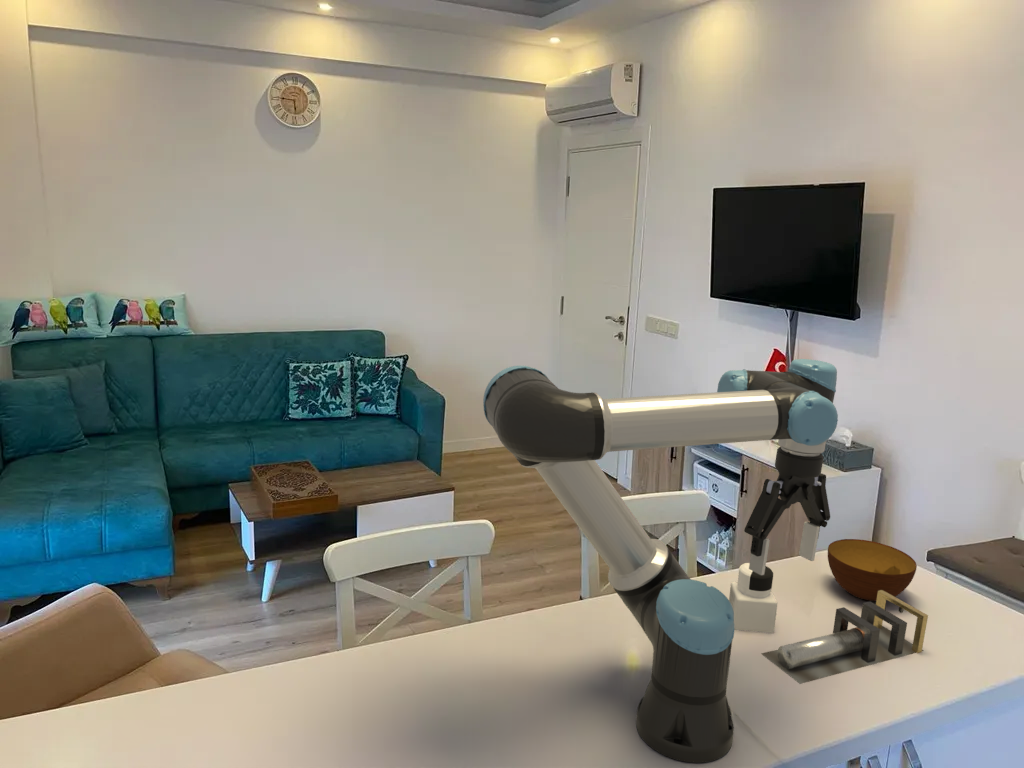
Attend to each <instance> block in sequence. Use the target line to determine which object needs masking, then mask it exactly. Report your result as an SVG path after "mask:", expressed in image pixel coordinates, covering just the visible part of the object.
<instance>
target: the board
mask: <svg viewBox="0 0 1024 768" xmlns="http://www.w3.org/2000/svg"><path fill="white" fill-rule="evenodd" d="M879 629H880V634H879V640H878V647H877V653H876V659H875V661H873V662H869V663H867V662H865V661H864V660H862V659H861V654H862V651H856V652H852V653H849V654H845V655H841V656H837V657H833V658H830V659H826V660H822V661H818V662H814V663H810V664H807V665H803V666H799V667H795V668H791V669H786V668H784V667H783V666H782V665H781V663H780V661H779V659H778V649H774V650H771V651H766V652H761V653H760V654H761V655H762V656H763V657H765V658H766V659H767V660H769V662H771V663H772V664H774V665H775V666H776V667H778V668H779V669H780V670H781V671H782V672H784V673H785V674H787V676H789V677H790V678H791V679H793V680H794V681H796V682H797V683H798V684H799V685H803V684H805V683H810V682H813V681H816V680H820V679H821V680H822V679H824V678H828V677H832V676H835V675H838V674H842V673H847V672H850V671H853V670H858V669H861V668H865V667H869V666H873V665H876V664H879V663H883V662H887V661H892V660H895V659H899V658H903V657H906V656H909V655H913V654H917V653H916V652H914V651H912V646H913V642H910V641H909V640H907V639H906V638H905V639H904V645H903V651H902V654H899V655H895V656H894V655H893V654H891V653H890V652H888V647H889V641H890V635H891V629H889V628H887V627H885V626H884V625H882V628H879ZM922 652H924V650H923V649H922Z"/></svg>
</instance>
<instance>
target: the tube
mask: <svg viewBox="0 0 1024 768" xmlns="http://www.w3.org/2000/svg"><path fill="white" fill-rule="evenodd" d="M864 635H865V632H864V631H863V630H861V629H859V628H858V627H856V626H855V627H852V628H850V629H847V630H846V631H842V632H837V633H833V632H832V633H830V634H825V635H821V636H818V637H814V638H809V639H805V640H801V641H797V642H793V643H788V644H786V645H780V647H778V649H777V650H778V659H779V661H780V663H781V665H782V666H783V667H784V668H786V669H791V668H795V667H799V666H803V665H807V664H810V663H814V662H818V661H822V660H826V659H830V658H833V657H837V656H841V655H845V654H849V653H852V652H856V651H862V648H863V641H864Z"/></svg>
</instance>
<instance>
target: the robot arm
mask: <svg viewBox="0 0 1024 768" xmlns="http://www.w3.org/2000/svg"><path fill="white" fill-rule="evenodd" d="M789 365H790V366H789V367H788V369H787V370H788V371H767V370H766V371H765V370H763V371H762V370H749V369H748V370H747V369H745V368H744V369H739V370H736V369H735V370H734V369H733V370H728V371H725V372H724V373H723V374H722V375H721V377H720V379H719V380H718V384H717V391H716V392H704V393H703V392H700V393H684V394H667V395H651V396H649V395H647V396H646V395H645V396H631V397H629V396H628V397H616V398H615V397H614V398H603V397H602V396H601V395H599V394H598V393H597V392H592V391H591V392H573V391H572V392H571V391H567V390H563V389H560V388H558V386H556V384H554V383H553V382H552V380H550V378H549V377H548V376H547V375H546V374H545V373H543V372H542V371H541V370H539V369H537V368H536V367H534V368H533V367H531V366H529V365H528V366H527V365H513V366H509V367H506V368H504V369H502V370H501V371H499V372H498V373H496V374H495V375H494V376H493V377H492V378H491V379H490V381H489V382H488V384H487V386H486V388H485V390H484V394H483V412H484V416H485V419H486V420H487V422H488V423H489V425H490V426H492V428H493V430H494V431H495V433H496V435H497V437H498V439H499V441H500V442H501V444H502V446H503V447H504V448H505V449H506V450H507V451H508V452H509V453H511V454H512V455H513V456H514V457H515V458H516V460H517V462H518V463H519V464H520V466H522V467H523V468H527V469H528V468H529V469H535V470H536V471H537V472H538V474H539V476H541V479H543V480H544V482H545V483H546V485H547V486H548V488H549V489H550V490H551V491H552V493H553V494H554V496H555V497H556V498H557V500H558V501H559V502H560V504H561V505H562V506H563V508H564V509H565V510H566V512H567V513H568V514H569V516H570V517H571V519H573V521H574V523H575V524H576V525H577V527H579V529H580V530H581V532H582V533H583V535H584V537H586V538H587V540H588V542H589V543H590V544H591V545H592V546H593V548H594V549H595V551H596V552H597V553H598V555H599V556H600V557H601V559H602V560H603V562H604V563H605V564H606V565H607V567H608V568H609V570H608V574H607V579H608V583H609V584H610V586H611V587H612V589H613V590H614V591H615V592H616V594H617V595H618V596H619V598H620V600H622V602H623V604H624V605H625V606H626V608H627V609H628V610H629V611H630V613H631V615H632V616H633V618H635V620H636V622H637V624H639V626H640V628H641V629H642V631H643V632H644V633H645V636H646V637H647V638H648V640H649V641H650V643H651V644H652V648H653V649H652V651H653V653H652V662H651V663H652V664H651V676H650V680H649V682H648V685H647V687H646V689H645V693H644V695H643V696H642V697H641V699H640V700H639V703H638V706H637V711H636V720H635V722H636V723H635V725H636V730H637V732H638V734H639V736H640V738H641V739H642V740H643V741H644V742H645V743H646V744H647V745H648V746H649V747H651V749H653V750H654V751H656V752H658V753H659V754H661V755H664V757H668V758H671V759H673V760H676V761H681V762H685V763H695V764H697V763H699V764H700V763H701V764H702V763H708V762H712V761H715V760H719V759H720V758H722V757H724V756H725V755H727V754H728V752H729V751H730V750H731V747H732V745H733V739H734V731H735V730H734V729H735V728H734V721H733V718H732V713H731V709H730V706H729V700H728V697H727V687H728V679H729V671H730V663H731V662H730V661H731V656H732V645H733V639H734V636H735V629H734V611H733V607H732V605H731V603H730V601H729V598H728V597H727V596H726V595H725V594H724V593H723V592H722V591H721V590H720V589H718V588H716V587H714V586H713V585H711V586H708V585H707V583H706V582H705V581H704V582H703V581H701V580H697V579H696V580H695V579H691V577H690V576H689V575H688V574H687V572H686V571H685V570H684V568H682V566H681V564H680V563H679V561H678V560H677V559H676V557H675V556H674V554H673V553H672V551H670V549H669V548H668V546H667V545H666V543H664V541H662V540H660V539H657V538H651V537H650V536H649V535H648V533H647V532H646V530H645V529H644V528H643V526H642V524H641V523H640V522H639V520H638V519H637V518H636V516H635V515H634V514H633V512H632V511H631V509H630V508H629V506H628V505H627V504H626V502H625V500H623V498H622V497H621V495H620V493H619V492H618V491H617V489H616V488H615V487H614V485H613V484H612V482H611V481H610V479H609V478H608V477H607V475H606V473H604V471H603V470H602V468H601V467H600V466H599V464H598V462H597V461H598V460H602V459H603V457H604V456H605V455H606V454H607V453H609V452H623V451H624V452H625V451H637V450H648V449H649V450H652V449H665V448H678V447H691V446H693V447H694V446H702V445H703V446H705V445H707V446H708V445H718V444H719V445H720V444H732V443H744V442H745V443H746V442H760V441H773V440H774V441H775V440H777V444H778V446H779V447H778V448H777V449H776V454H775V461H774V462H775V463H774V467H775V469H776V470H777V472H778V476H777V479H776V480H772V479H769V478H766V479H765V480H764V482H763V486H762V491H761V493H760V494H759V495H760V496H759V498H758V500H757V501H756V503H755V506H754V508H753V510H752V512H751V514H750V516H749V519H748V520H747V522H746V525H745V527H744V528H743V529H744V530H743V531H744V533H745V534H747V535H749V536H752V540H751V544H750V545H751V546H750V558H749V563H750V564H749V569H750V570H752V571H754V572H756V573H758V574H760V575H764V573H765V567H766V566H767V559H768V553H769V547H770V546H769V545H770V542H771V541H770V538H769V537H768V536H769V535H770V533H771V531H772V529H773V528H774V527H775V526H776V524H777V522H778V521H779V519H780V518H781V516H782V515H783V513H784V511H785V510H786V509H789V508H791V506H792V505H796V504H797V503H800V505H801V508H802V510H803V513H804V514H805V517H806V518H807V521H804V523H803V527H802V534H801V540H800V546H799V550H798V551H799V552H798V556H799V557H801V558H804V559H806V560H808V561H810V562H813V561H815V557H816V551H817V546H818V539H819V537H820V531H821V530H820V529H821V527H823V528H826V527H827V526H828V522H829V521H830V519H831V512H830V507H829V499H828V494H827V488H826V483H827V474H824V473H822V470H823V465H824V464H823V462H824V456H823V453H824V452H825V450H826V444H827V440H830V438H831V437H832V436H833V435H834V433H835V431H836V429H837V427H838V426H837V425H838V421H839V418H838V417H839V414H838V411H837V407H836V406H835V404H834V400H835V394H836V392H837V378H838V377H837V375H838V371H837V367H836V366H835V365H834V364H832V363H830V362H827V361H823V360H817V359H809V358H800V359H797V358H796V359H793V360H792V361H791V362H790V364H789ZM596 460H597V461H596Z"/></svg>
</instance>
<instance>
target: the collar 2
mask: <svg viewBox="0 0 1024 768" xmlns="http://www.w3.org/2000/svg"><path fill="white" fill-rule="evenodd" d="M875 616H877V617H879V618H880V619H882V620H883V621H884V622H886V623H888V624H889V625H891V629H890V631H891V635H890V641H889V647H888V652H890V653H891V654H893V655H894V656H895V655H899V654H902V651H903V645H904V639H905V640H906V633H907V627H908V622H907V621H905V620H903V619H902V618H900V617H898V616H896V615H894V614H893V613H891V612H890V611H888V610H886V609H885V610H884V609H883V608H881V607H879V606H877V605H876V603H874V602H873V601H867V602H862V607H861V613H860V617H861V618H862V619H864V620H866V621H867V622H869V623H871V624H872V625H873V624H874V618H875Z"/></svg>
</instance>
